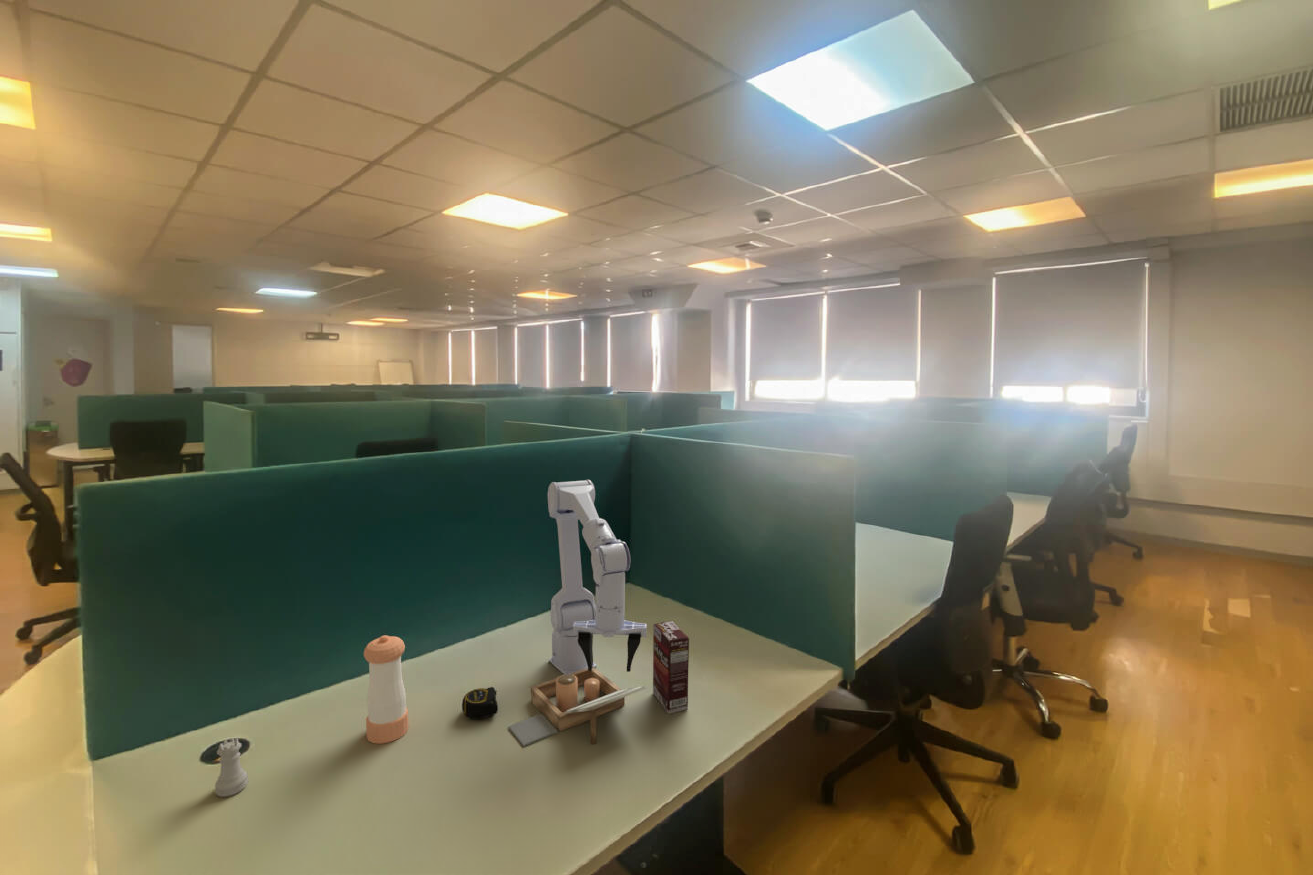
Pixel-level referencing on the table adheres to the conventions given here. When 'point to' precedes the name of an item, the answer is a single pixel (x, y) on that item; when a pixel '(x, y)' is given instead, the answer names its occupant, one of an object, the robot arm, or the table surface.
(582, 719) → the frame
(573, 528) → the robot arm
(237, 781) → the rook chess piece
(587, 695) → the tan rounded cylinder
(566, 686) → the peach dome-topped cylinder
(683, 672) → the supplement box
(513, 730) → the mat
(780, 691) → the table surface
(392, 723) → the pepper shaker
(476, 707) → the tape measure
